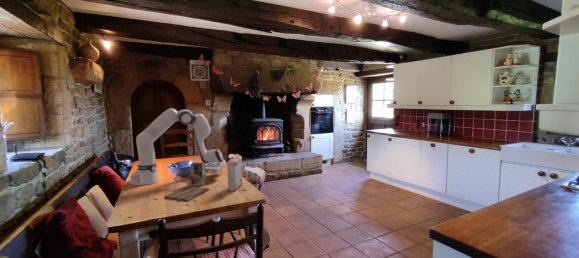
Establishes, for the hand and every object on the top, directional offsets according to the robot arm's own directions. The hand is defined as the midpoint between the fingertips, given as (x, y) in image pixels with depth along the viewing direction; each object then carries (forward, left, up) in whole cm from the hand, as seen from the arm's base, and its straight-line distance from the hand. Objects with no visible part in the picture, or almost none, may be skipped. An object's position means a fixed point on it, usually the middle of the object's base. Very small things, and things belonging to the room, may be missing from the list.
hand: (201, 171), depth 207 cm
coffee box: (0, -5, -9) cm, 10 cm away
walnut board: (+6, -25, -8) cm, 27 cm away
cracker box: (+30, -4, -9) cm, 32 cm away
